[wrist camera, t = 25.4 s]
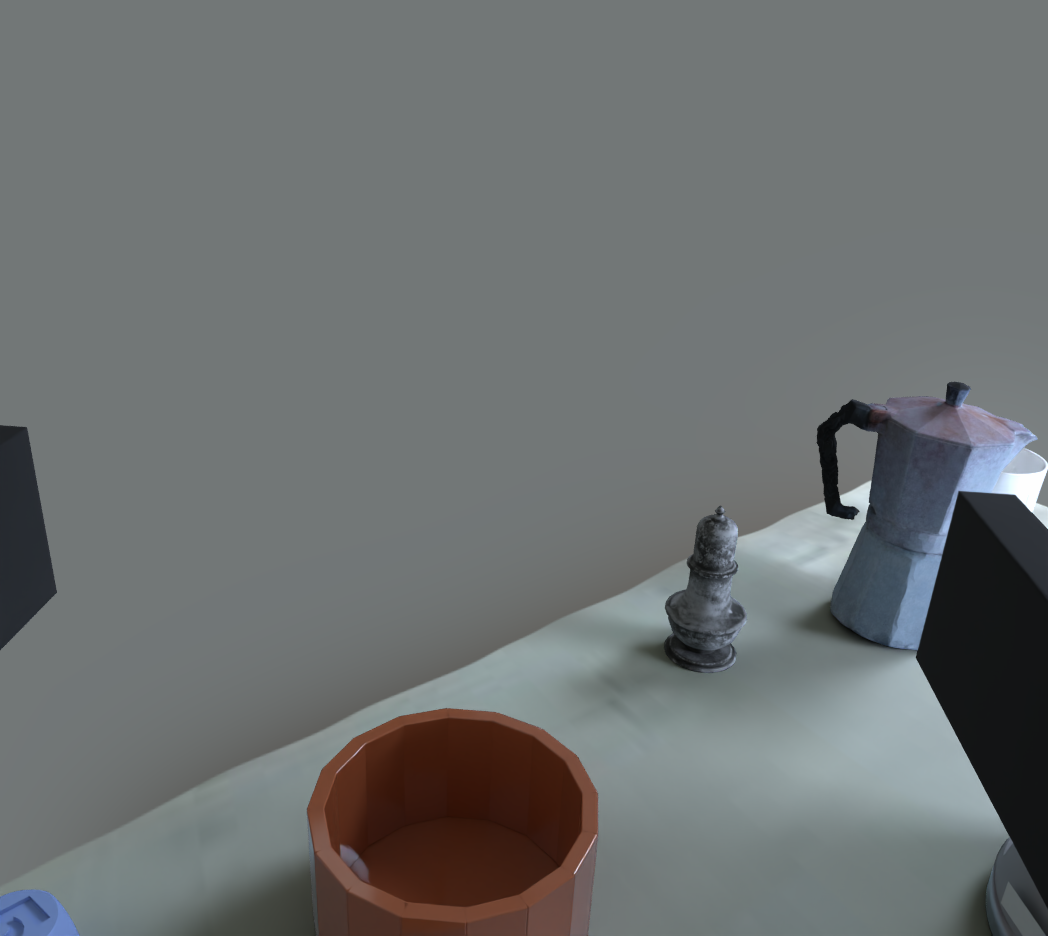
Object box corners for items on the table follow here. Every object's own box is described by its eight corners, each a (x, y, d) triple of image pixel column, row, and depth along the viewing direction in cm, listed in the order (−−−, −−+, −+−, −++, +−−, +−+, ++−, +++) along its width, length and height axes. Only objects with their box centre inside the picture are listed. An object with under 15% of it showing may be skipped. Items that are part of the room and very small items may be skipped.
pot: (587, 825, 54) (597, 719, 51) (585, 1056, 42) (599, 935, 39) (351, 805, 55) (347, 699, 52) (280, 1027, 42) (270, 905, 39)
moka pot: (1007, 660, 71) (1083, 409, 63) (803, 654, 71) (853, 400, 63) (953, 592, 80) (1013, 364, 72) (771, 587, 79) (811, 356, 71)
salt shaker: (645, 638, 72) (661, 494, 67) (709, 622, 74) (730, 482, 69) (689, 682, 67) (710, 531, 62) (756, 664, 69) (782, 517, 64)
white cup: (1035, 565, 85) (1066, 462, 81) (986, 589, 81) (1016, 482, 77) (955, 529, 91) (980, 432, 87) (905, 549, 87) (929, 448, 83)
